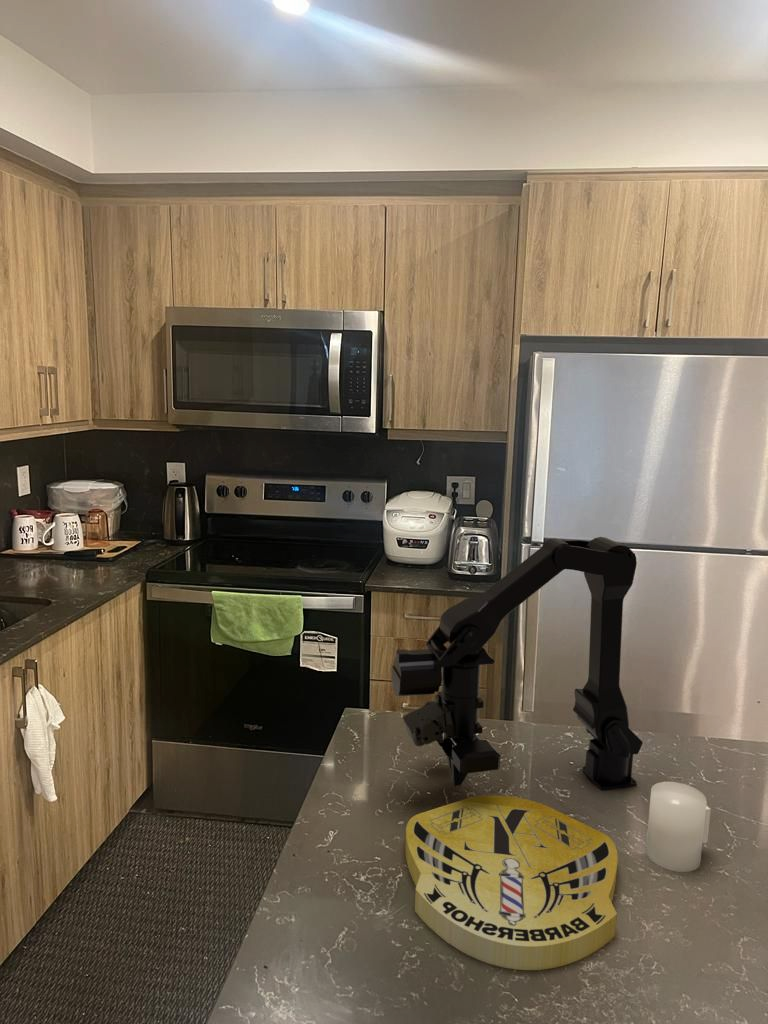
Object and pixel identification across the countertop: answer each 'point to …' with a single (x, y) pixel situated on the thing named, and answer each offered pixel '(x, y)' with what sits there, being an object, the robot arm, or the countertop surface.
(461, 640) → the robot arm
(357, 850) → the countertop surface
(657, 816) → the night light
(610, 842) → the sign
